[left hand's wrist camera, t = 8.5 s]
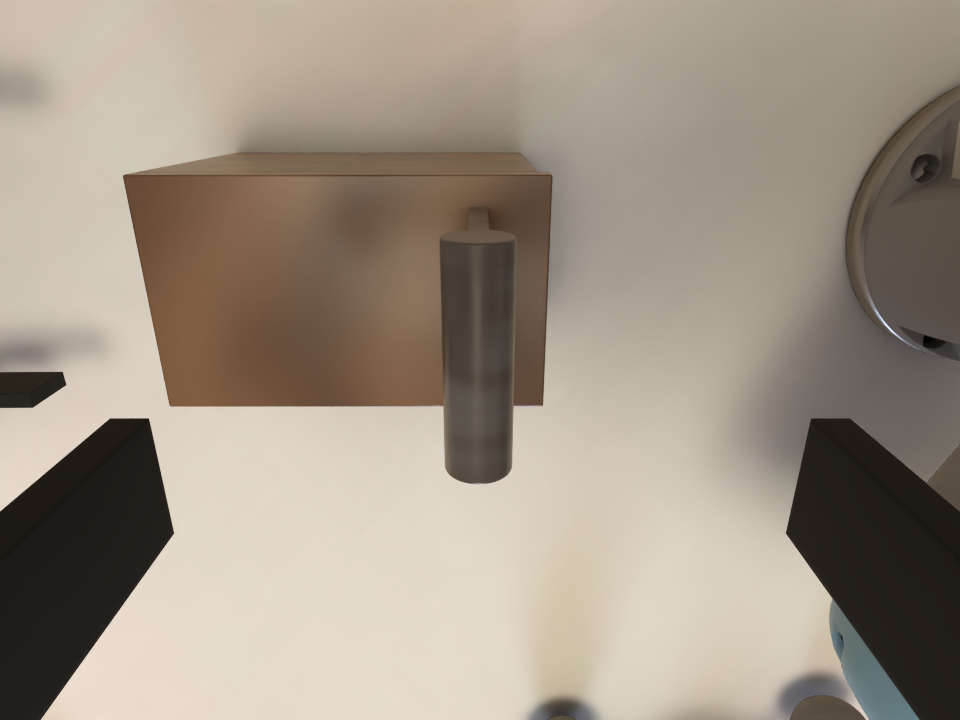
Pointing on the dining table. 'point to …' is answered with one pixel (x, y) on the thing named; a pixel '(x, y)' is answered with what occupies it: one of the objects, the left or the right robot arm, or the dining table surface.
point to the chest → (356, 163)
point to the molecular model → (809, 710)
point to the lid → (353, 294)
